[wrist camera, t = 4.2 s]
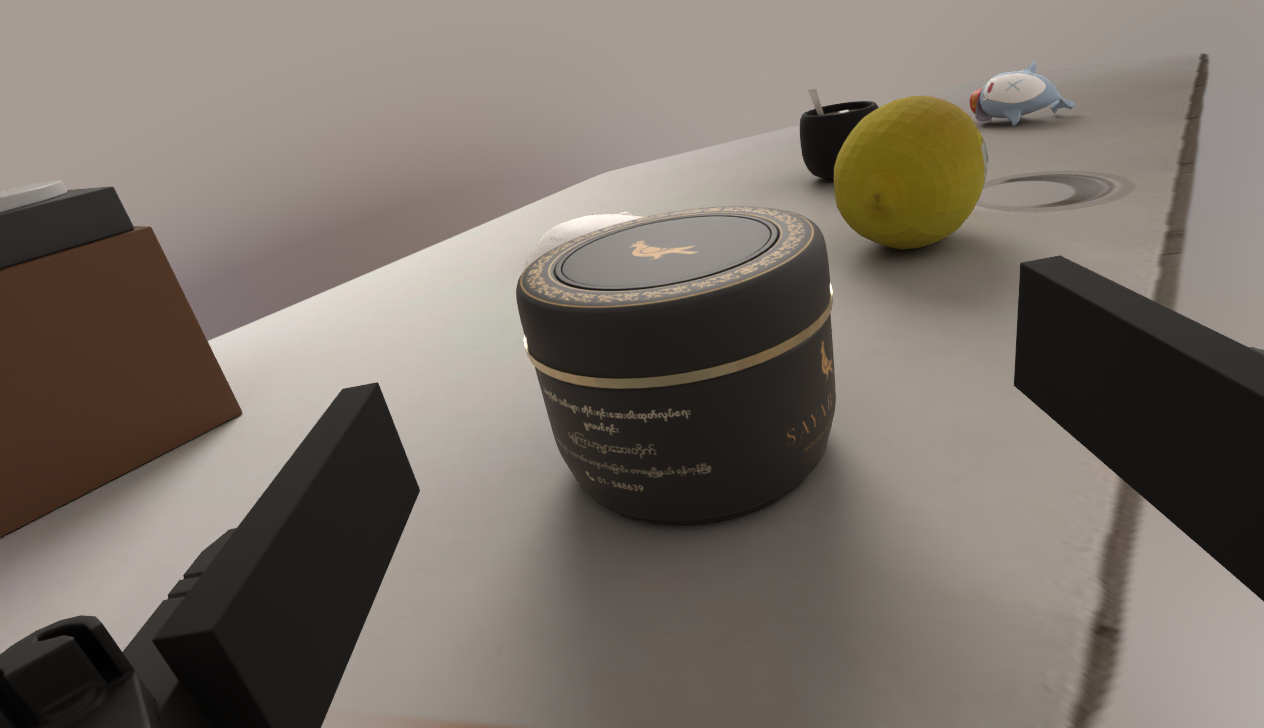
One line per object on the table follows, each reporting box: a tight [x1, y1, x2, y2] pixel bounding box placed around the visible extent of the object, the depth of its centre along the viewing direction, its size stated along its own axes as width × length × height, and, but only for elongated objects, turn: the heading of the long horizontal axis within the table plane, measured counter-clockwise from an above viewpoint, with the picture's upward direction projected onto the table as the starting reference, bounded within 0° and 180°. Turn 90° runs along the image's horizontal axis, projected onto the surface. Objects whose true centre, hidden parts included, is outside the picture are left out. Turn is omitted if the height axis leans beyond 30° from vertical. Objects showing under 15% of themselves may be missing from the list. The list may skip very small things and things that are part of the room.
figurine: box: [970, 62, 1074, 126], centre depth 63 cm, size 5×8×4 cm
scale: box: [0, 180, 242, 537], centre depth 33 cm, size 12×12×13 cm
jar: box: [516, 206, 836, 525], centre depth 24 cm, size 10×10×8 cm
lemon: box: [834, 96, 988, 250], centre depth 39 cm, size 11×8×8 cm
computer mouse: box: [527, 212, 643, 266], centre depth 52 cm, size 7×12×2 cm, turn 141°
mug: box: [800, 89, 879, 179], centre depth 57 cm, size 12×6×8 cm, turn 131°
